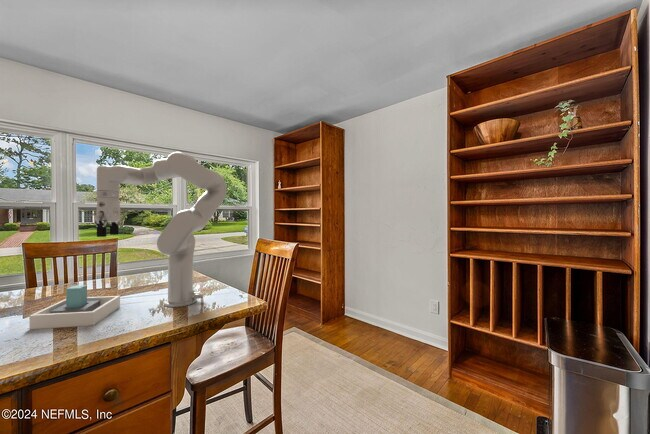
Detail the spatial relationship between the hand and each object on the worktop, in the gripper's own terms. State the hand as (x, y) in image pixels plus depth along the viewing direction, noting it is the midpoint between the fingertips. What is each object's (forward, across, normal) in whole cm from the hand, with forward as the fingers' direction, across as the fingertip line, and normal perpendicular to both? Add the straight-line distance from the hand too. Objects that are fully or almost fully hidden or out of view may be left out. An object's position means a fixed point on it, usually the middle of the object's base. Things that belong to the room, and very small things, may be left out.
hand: (108, 235), depth 116 cm
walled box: (+28, -17, +1) cm, 33 cm away
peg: (+28, -15, +3) cm, 32 cm away
